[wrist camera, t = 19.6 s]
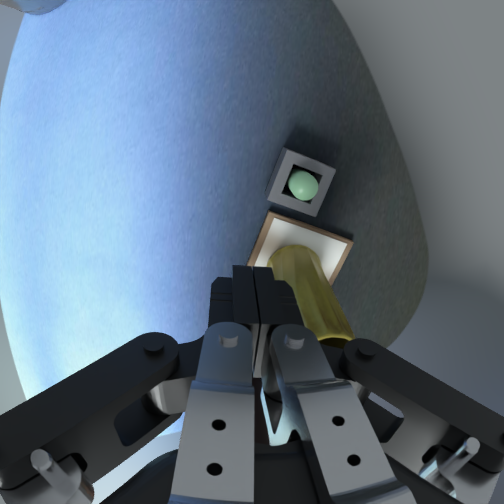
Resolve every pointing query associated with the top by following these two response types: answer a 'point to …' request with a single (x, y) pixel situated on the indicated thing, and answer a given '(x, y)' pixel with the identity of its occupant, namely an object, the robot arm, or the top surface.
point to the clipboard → (299, 243)
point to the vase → (312, 294)
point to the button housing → (281, 174)
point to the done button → (302, 184)
